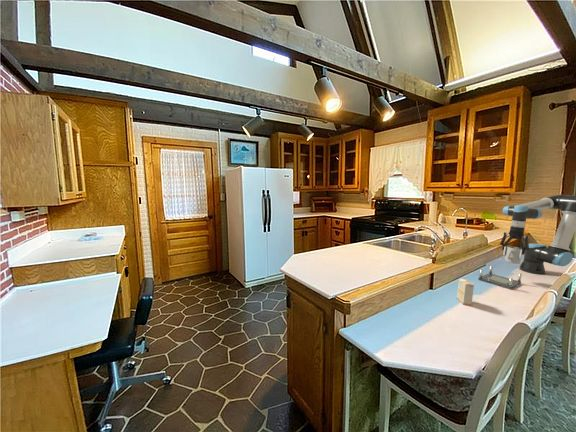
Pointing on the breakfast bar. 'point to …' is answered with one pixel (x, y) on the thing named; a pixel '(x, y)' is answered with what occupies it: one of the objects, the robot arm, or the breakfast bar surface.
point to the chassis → (499, 279)
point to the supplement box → (465, 291)
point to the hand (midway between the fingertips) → (512, 256)
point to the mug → (512, 254)
